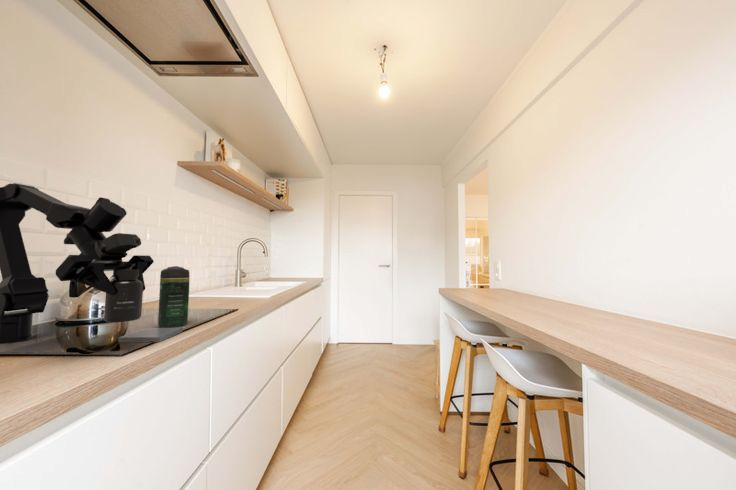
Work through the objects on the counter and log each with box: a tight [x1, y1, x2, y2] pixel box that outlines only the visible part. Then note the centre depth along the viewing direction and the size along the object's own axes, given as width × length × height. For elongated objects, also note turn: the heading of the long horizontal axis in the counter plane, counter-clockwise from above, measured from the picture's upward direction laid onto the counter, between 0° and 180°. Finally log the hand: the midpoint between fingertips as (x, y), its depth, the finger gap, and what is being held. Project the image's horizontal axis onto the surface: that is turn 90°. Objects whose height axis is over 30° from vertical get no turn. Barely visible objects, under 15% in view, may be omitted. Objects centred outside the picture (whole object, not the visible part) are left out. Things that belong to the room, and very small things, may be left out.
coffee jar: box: [157, 265, 190, 328], centre depth 93 cm, size 10×8×19 cm
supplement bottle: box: [103, 269, 144, 323], centre depth 69 cm, size 7×7×12 cm
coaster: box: [117, 327, 184, 343], centre depth 78 cm, size 10×10×1 cm
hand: (129, 291), depth 69 cm, fingers closed on supplement bottle, 7 cm apart
